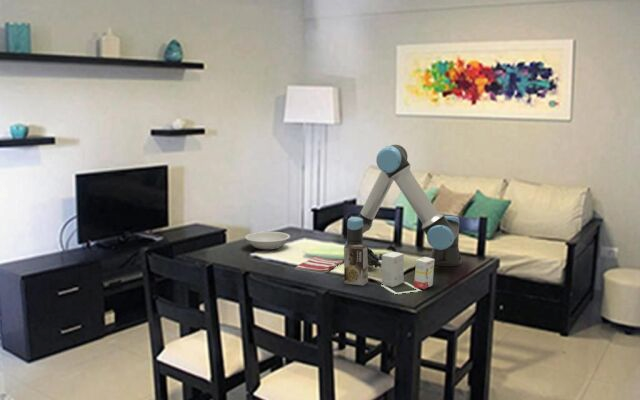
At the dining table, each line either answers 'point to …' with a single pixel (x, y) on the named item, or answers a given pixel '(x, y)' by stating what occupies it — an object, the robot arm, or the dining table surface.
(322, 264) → the dish towel
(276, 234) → the soup bowl
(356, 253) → the coffee box
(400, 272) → the small box
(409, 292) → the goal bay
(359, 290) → the dining table surface
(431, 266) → the ink box
